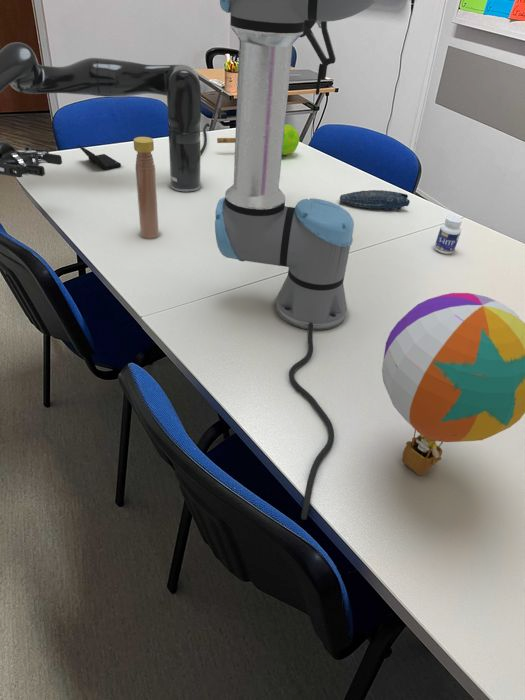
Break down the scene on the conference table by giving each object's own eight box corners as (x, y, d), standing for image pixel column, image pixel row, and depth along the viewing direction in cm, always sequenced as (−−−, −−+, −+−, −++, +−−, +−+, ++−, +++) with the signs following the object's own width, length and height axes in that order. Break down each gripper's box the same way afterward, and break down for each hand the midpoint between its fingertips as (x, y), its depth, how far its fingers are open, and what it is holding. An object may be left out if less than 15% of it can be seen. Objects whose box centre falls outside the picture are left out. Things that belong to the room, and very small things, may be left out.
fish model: (408, 214, 157) (412, 198, 153) (339, 207, 158) (341, 191, 154) (406, 206, 162) (410, 190, 159) (339, 199, 163) (341, 183, 160)
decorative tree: (214, 118, 187) (294, 118, 193) (214, 147, 194) (292, 146, 199) (220, 132, 174) (307, 132, 179) (220, 164, 180) (304, 162, 185)
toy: (329, 455, 81) (367, 293, 62) (405, 402, 92) (457, 251, 73) (434, 545, 70) (518, 382, 52) (506, 474, 81) (598, 317, 62)
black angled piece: (125, 159, 170) (105, 137, 162) (114, 177, 169) (93, 156, 161) (104, 155, 177) (83, 134, 168) (93, 172, 175) (71, 152, 167)
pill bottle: (433, 251, 139) (442, 220, 133) (435, 243, 143) (444, 213, 137) (453, 256, 138) (464, 225, 132) (454, 247, 142) (465, 217, 136)
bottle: (155, 229, 137) (149, 137, 123) (161, 237, 134) (156, 143, 119) (138, 232, 135) (130, 139, 121) (144, 240, 132) (136, 145, 118)
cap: (150, 145, 124) (149, 135, 122) (156, 151, 121) (156, 141, 119) (131, 147, 122) (130, 137, 120) (137, 153, 119) (137, 143, 117)
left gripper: (9, 162, 135) (68, 171, 134) (-24, 181, 124) (40, 191, 123) (3, 132, 131) (64, 141, 129) (-32, 149, 120) (34, 159, 118)
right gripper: (355, -7, 121) (340, 92, 134) (250, -18, 122) (245, 81, 136) (355, -4, 115) (339, 99, 128) (244, -16, 117) (239, 87, 130)
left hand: (52, 165), depth 126 cm, fingers open, 8 cm apart
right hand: (290, 90), depth 132 cm, fingers open, 13 cm apart
